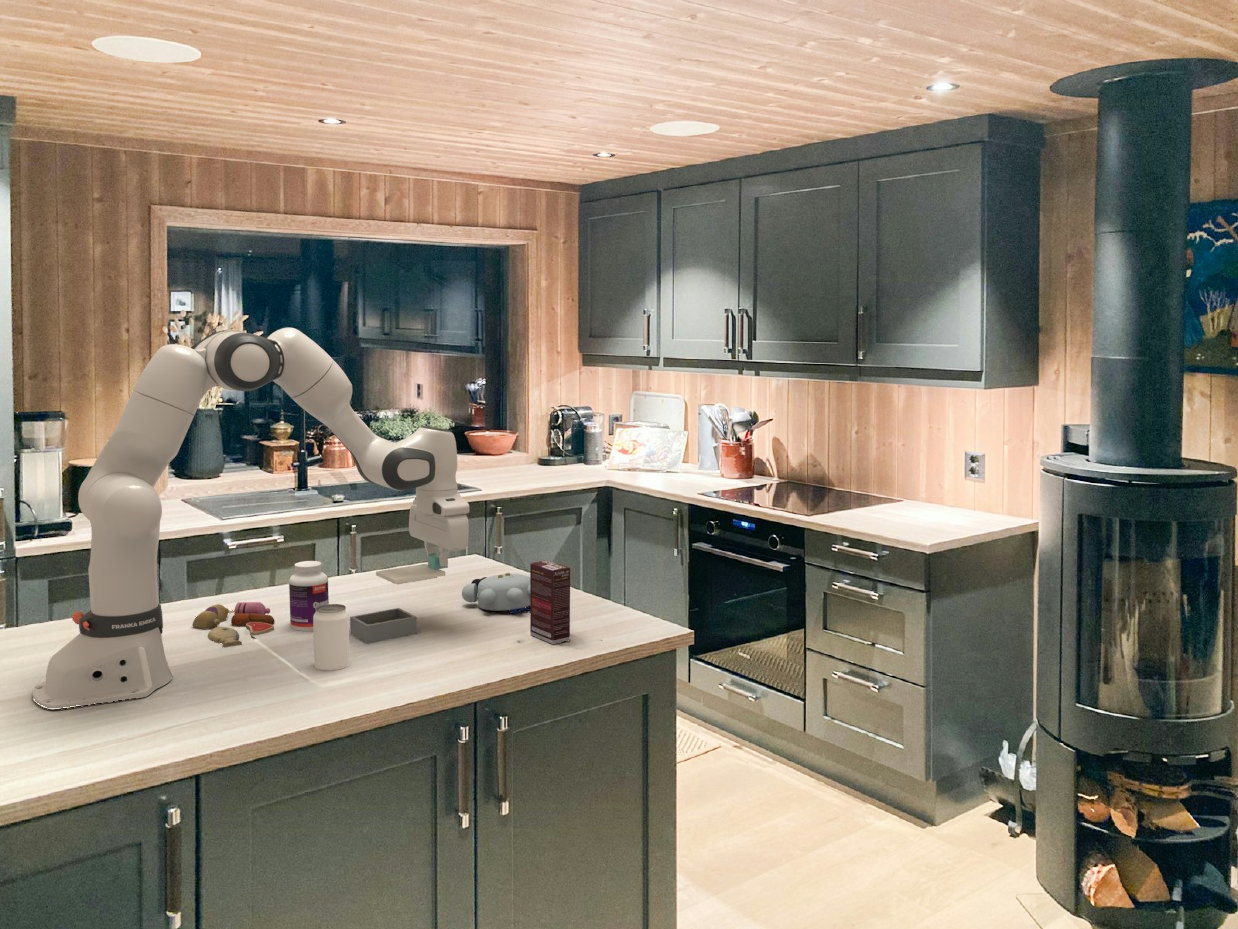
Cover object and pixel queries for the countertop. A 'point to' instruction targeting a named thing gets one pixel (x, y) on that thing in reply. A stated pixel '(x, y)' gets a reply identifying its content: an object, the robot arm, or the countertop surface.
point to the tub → (383, 625)
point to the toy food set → (235, 622)
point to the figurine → (500, 592)
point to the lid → (414, 572)
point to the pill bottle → (306, 594)
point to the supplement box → (550, 601)
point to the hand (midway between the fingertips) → (437, 563)
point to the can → (331, 637)
